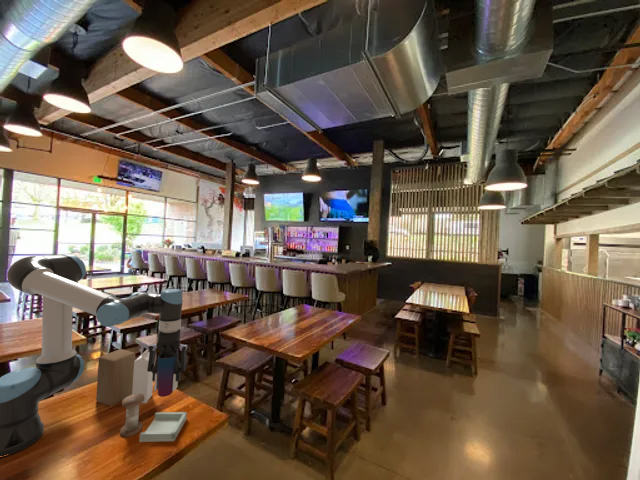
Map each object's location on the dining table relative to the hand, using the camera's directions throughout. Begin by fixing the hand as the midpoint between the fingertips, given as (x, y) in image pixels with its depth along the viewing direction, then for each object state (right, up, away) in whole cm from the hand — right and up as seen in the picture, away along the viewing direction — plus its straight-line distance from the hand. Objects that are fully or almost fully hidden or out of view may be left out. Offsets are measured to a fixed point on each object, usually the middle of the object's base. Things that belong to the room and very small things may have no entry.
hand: (165, 388), depth 103 cm
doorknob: (-13, -15, -1) cm, 20 cm away
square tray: (-1, -16, 0) cm, 16 cm away
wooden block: (-33, -14, +17) cm, 39 cm away
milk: (-21, -15, +17) cm, 31 cm away
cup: (0, -2, 0) cm, 2 cm away
